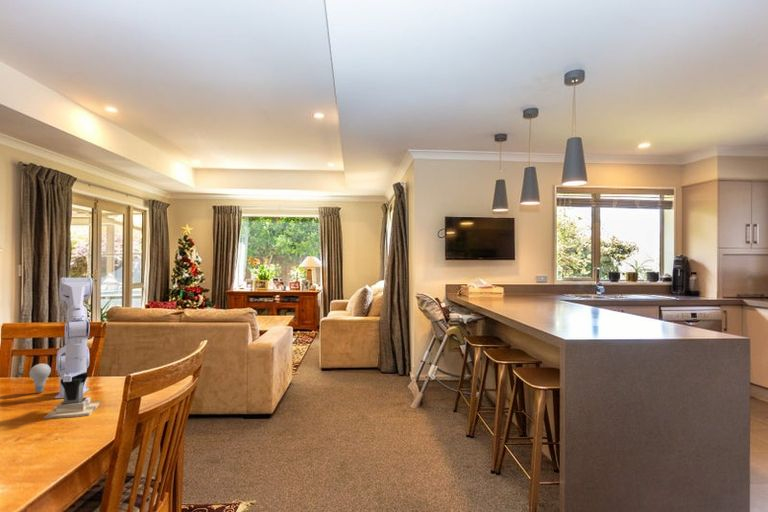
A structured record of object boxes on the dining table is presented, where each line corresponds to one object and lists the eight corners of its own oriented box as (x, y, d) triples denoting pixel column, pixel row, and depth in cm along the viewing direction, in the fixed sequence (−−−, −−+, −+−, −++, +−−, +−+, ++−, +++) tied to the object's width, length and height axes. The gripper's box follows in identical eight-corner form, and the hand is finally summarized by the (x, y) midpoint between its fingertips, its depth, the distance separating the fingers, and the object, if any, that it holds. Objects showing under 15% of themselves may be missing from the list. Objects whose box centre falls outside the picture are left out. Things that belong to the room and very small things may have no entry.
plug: (68, 402, 134) (69, 383, 134) (82, 401, 136) (83, 382, 136) (63, 406, 130) (64, 386, 131) (78, 405, 132) (79, 385, 132)
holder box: (59, 406, 137) (59, 397, 137) (100, 403, 141) (101, 394, 141) (43, 419, 125) (44, 409, 125) (89, 415, 130) (89, 405, 130)
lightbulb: (37, 396, 147) (38, 366, 147) (24, 394, 148) (25, 365, 149) (54, 391, 153) (55, 362, 153) (41, 389, 154) (42, 361, 155)
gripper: (70, 353, 139) (68, 392, 139) (52, 362, 125) (50, 406, 125) (94, 352, 141) (92, 390, 141) (79, 361, 128) (77, 403, 127)
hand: (74, 397), depth 133 cm, fingers closed on plug, 4 cm apart
